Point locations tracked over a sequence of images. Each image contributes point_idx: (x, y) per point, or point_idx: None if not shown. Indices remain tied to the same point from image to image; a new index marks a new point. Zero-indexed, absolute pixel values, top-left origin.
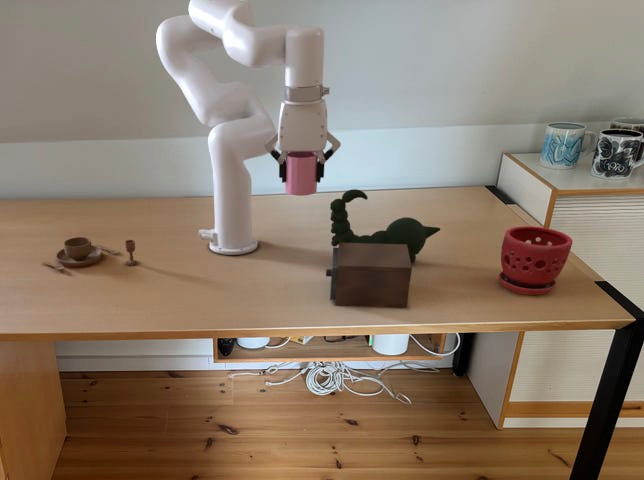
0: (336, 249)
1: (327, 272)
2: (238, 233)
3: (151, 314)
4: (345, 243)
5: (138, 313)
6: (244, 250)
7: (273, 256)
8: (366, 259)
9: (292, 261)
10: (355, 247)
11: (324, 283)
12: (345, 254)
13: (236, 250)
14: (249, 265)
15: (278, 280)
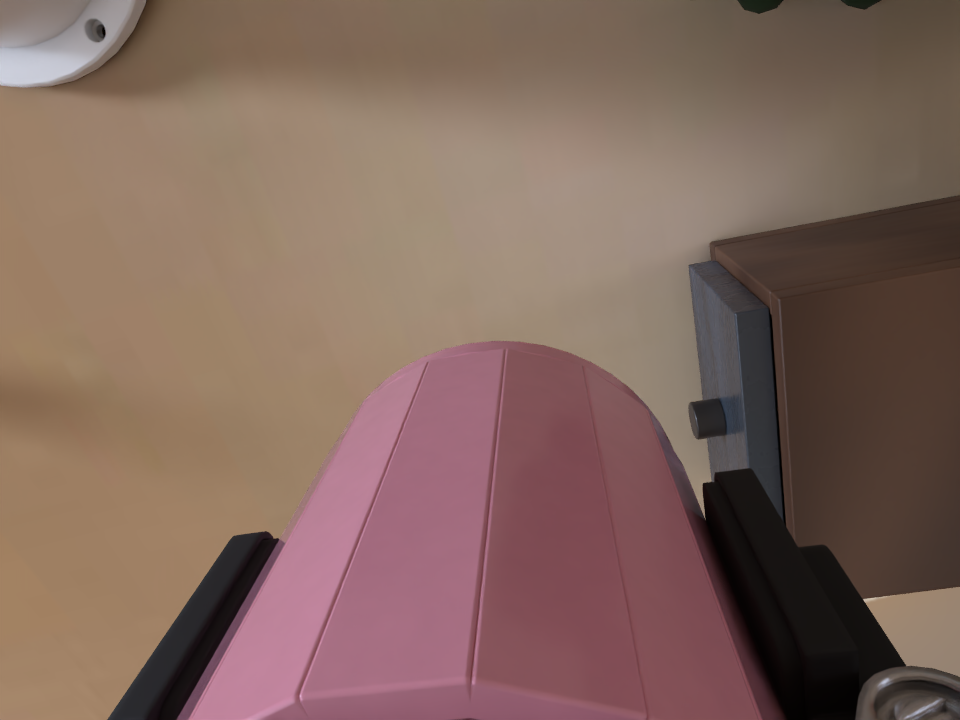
0: (760, 343)
1: (703, 437)
2: (6, 14)
3: (99, 694)
4: (825, 304)
5: (54, 698)
6: (118, 36)
7: (300, 12)
8: (957, 506)
9: (430, 56)
10: (893, 353)
11: (656, 292)
12: (831, 470)
13: (76, 57)
14: (227, 184)
15: (432, 319)
